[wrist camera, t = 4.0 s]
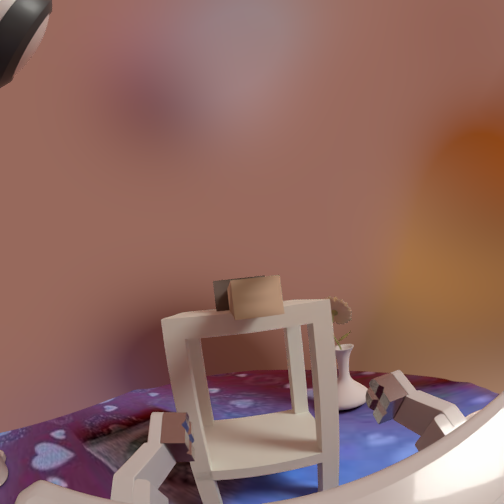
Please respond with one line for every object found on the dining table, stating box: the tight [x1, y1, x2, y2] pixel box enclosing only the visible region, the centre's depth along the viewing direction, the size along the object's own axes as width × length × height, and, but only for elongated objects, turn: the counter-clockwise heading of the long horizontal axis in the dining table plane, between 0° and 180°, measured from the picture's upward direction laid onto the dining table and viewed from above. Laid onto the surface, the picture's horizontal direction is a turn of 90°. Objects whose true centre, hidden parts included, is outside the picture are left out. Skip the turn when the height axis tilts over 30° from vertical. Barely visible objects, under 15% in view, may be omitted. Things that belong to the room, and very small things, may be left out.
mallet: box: [213, 275, 284, 320], centre depth 25 cm, size 6×18×4 cm, turn 6°
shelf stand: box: [162, 299, 339, 504], centre depth 29 cm, size 16×14×26 cm
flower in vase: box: [325, 296, 368, 410], centre depth 53 cm, size 13×11×25 cm
